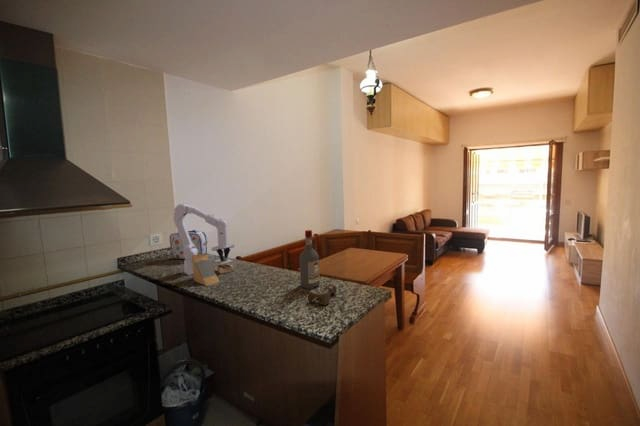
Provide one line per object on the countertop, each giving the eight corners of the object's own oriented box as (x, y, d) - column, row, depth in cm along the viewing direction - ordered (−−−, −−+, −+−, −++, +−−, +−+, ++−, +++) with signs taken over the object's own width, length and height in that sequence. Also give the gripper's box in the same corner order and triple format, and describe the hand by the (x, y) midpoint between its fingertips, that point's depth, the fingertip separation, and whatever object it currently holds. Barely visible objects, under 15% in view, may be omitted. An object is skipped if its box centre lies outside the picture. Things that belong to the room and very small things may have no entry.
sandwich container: (206, 286, 170) (204, 259, 169) (193, 280, 181) (191, 255, 179) (220, 282, 177) (218, 256, 175) (207, 276, 187) (205, 252, 185)
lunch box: (211, 257, 234) (209, 228, 232) (203, 260, 224) (201, 230, 222) (178, 256, 239) (175, 228, 236) (169, 260, 229) (167, 230, 226)
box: (215, 270, 199) (215, 265, 199) (227, 267, 204) (226, 263, 204) (222, 273, 192) (221, 268, 191) (234, 271, 197) (233, 266, 197)
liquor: (298, 286, 167) (296, 231, 163) (308, 281, 174) (307, 228, 170) (311, 289, 161) (309, 232, 158) (321, 284, 168) (320, 230, 165)
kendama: (341, 295, 153) (321, 310, 136) (324, 293, 158) (302, 306, 141) (340, 283, 153) (320, 296, 136) (324, 281, 158) (302, 293, 141)
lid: (214, 262, 198) (214, 256, 198) (226, 259, 204) (226, 254, 203) (221, 265, 191) (221, 259, 191) (233, 262, 196) (233, 257, 196)
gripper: (214, 241, 188) (215, 263, 189) (236, 238, 197) (237, 259, 199) (209, 240, 193) (210, 261, 195) (231, 237, 203) (232, 257, 204)
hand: (223, 260), depth 197 cm, fingers closed on lid, 2 cm apart
